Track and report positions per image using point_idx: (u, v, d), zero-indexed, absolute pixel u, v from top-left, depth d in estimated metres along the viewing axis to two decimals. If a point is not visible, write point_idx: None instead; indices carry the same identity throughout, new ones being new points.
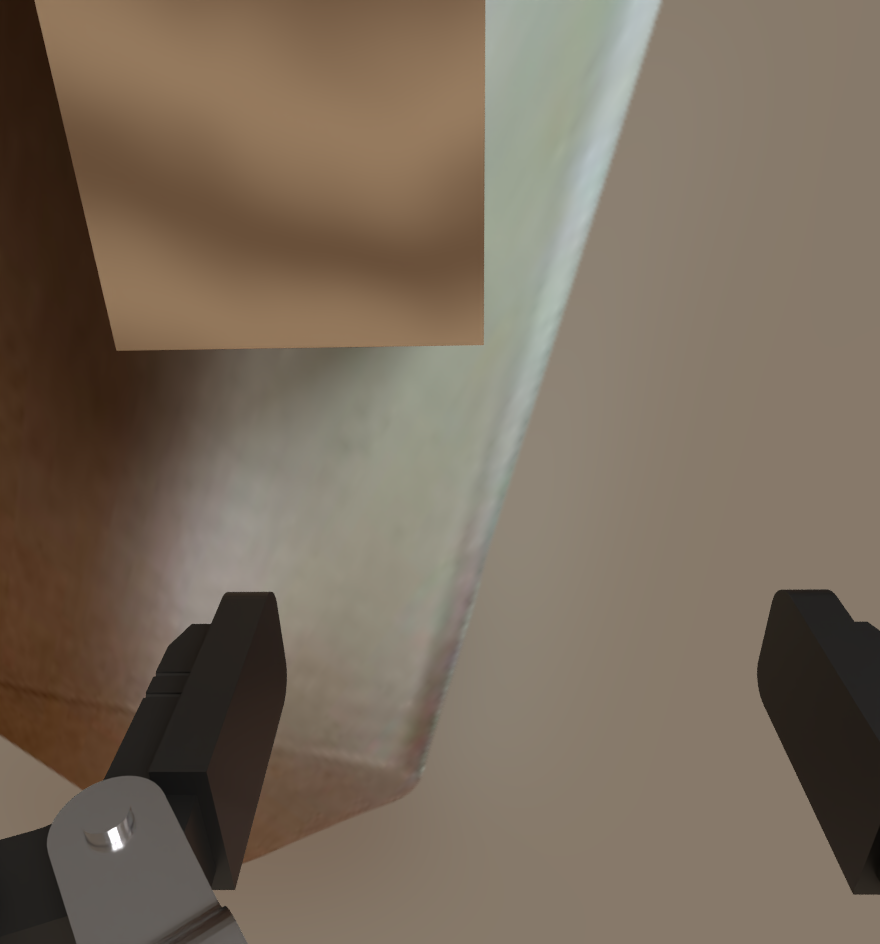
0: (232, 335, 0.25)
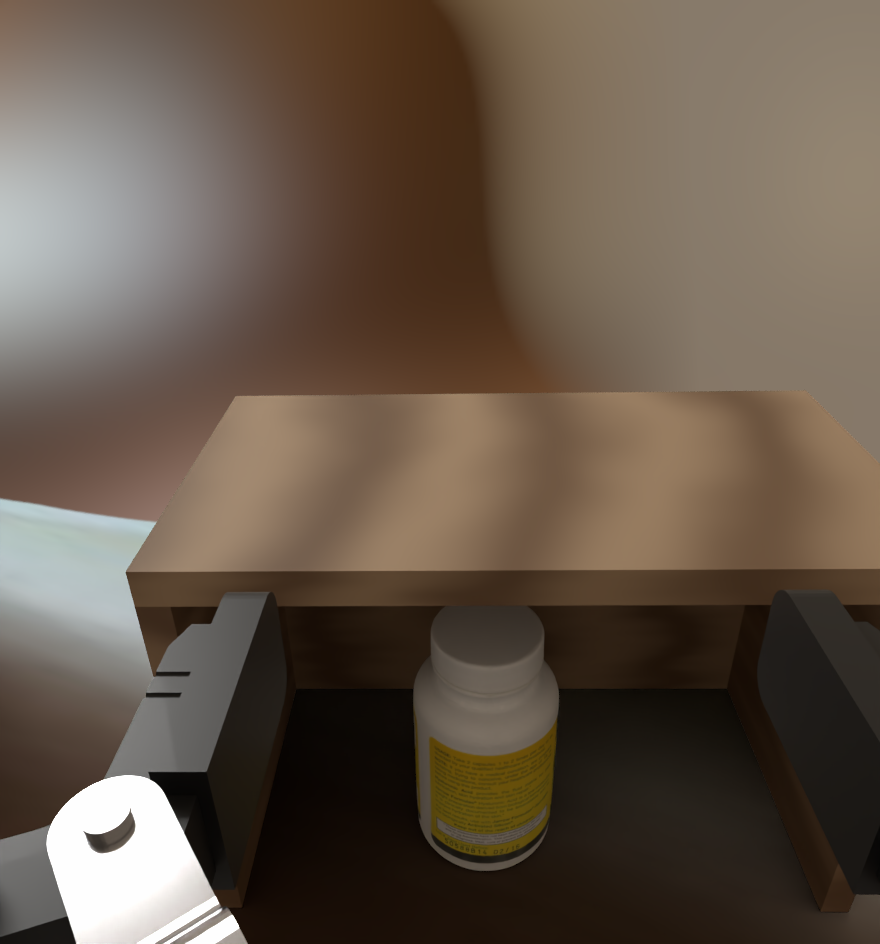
0: None
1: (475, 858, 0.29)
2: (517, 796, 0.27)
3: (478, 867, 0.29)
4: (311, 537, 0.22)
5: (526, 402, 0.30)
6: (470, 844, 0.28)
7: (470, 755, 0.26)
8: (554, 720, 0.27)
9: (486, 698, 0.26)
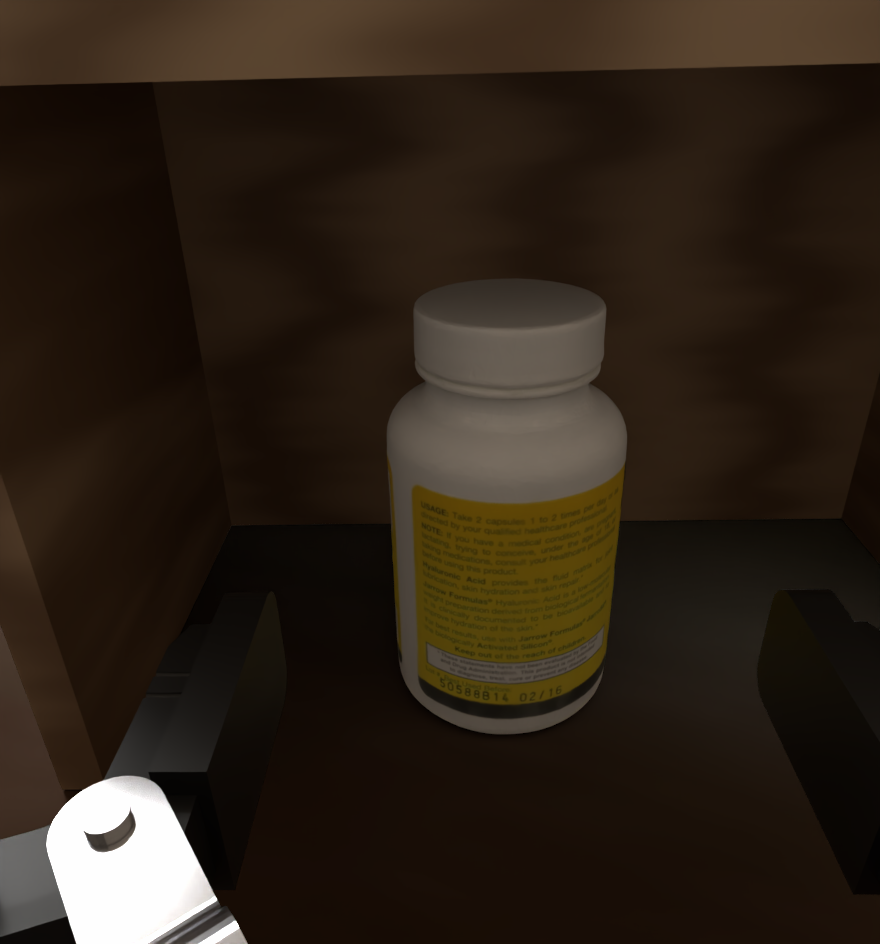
0: None
1: (489, 709, 0.18)
2: (561, 592, 0.16)
3: (494, 727, 0.18)
4: None
5: None
6: (481, 684, 0.17)
7: (481, 504, 0.15)
8: (621, 463, 0.16)
9: (509, 403, 0.15)
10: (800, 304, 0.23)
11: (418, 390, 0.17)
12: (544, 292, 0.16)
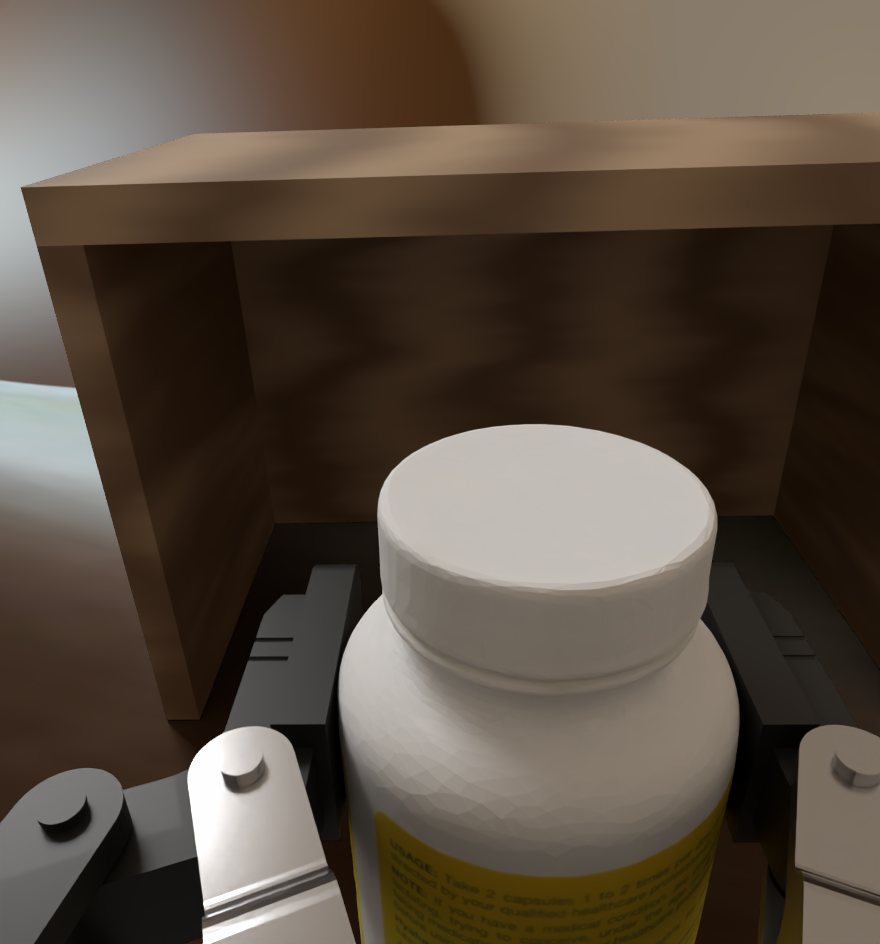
0: None
1: None
2: None
3: None
4: (268, 169, 0.17)
5: (539, 125, 0.25)
6: None
7: (495, 873, 0.08)
8: (734, 760, 0.10)
9: (547, 697, 0.08)
10: (731, 345, 0.29)
11: None
12: (602, 465, 0.10)
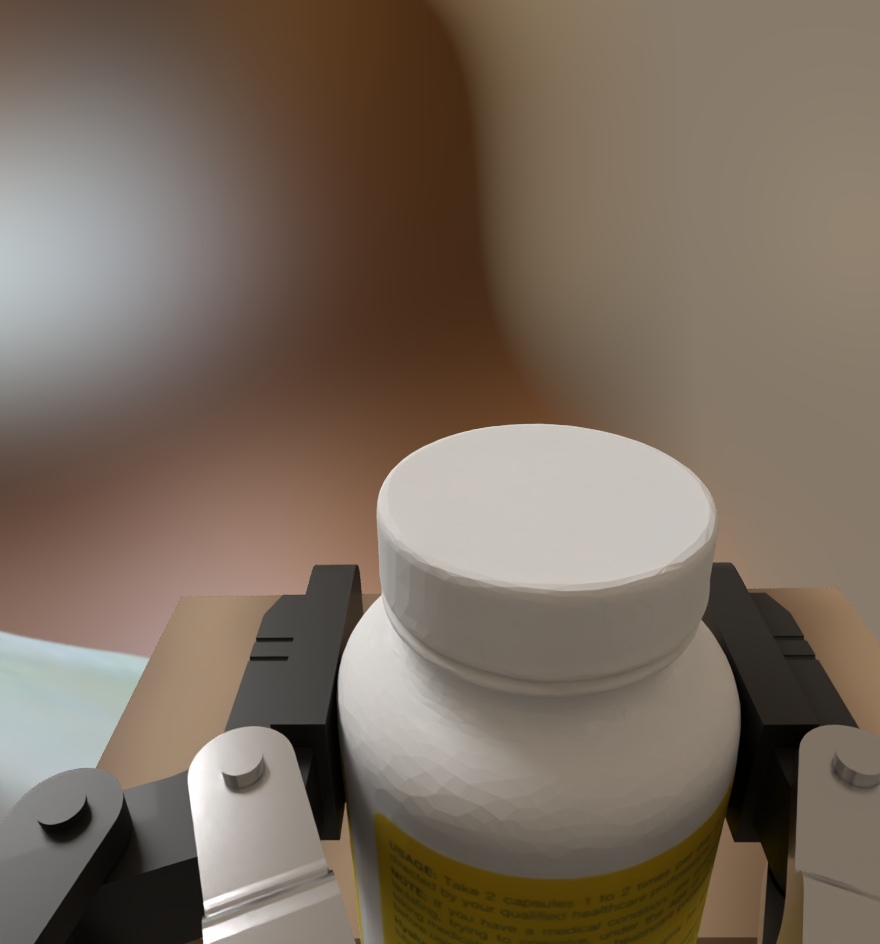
0: None
1: None
2: None
3: None
4: None
5: None
6: None
7: (495, 876, 0.08)
8: (735, 762, 0.09)
9: (547, 698, 0.08)
10: None
11: None
12: (602, 465, 0.10)
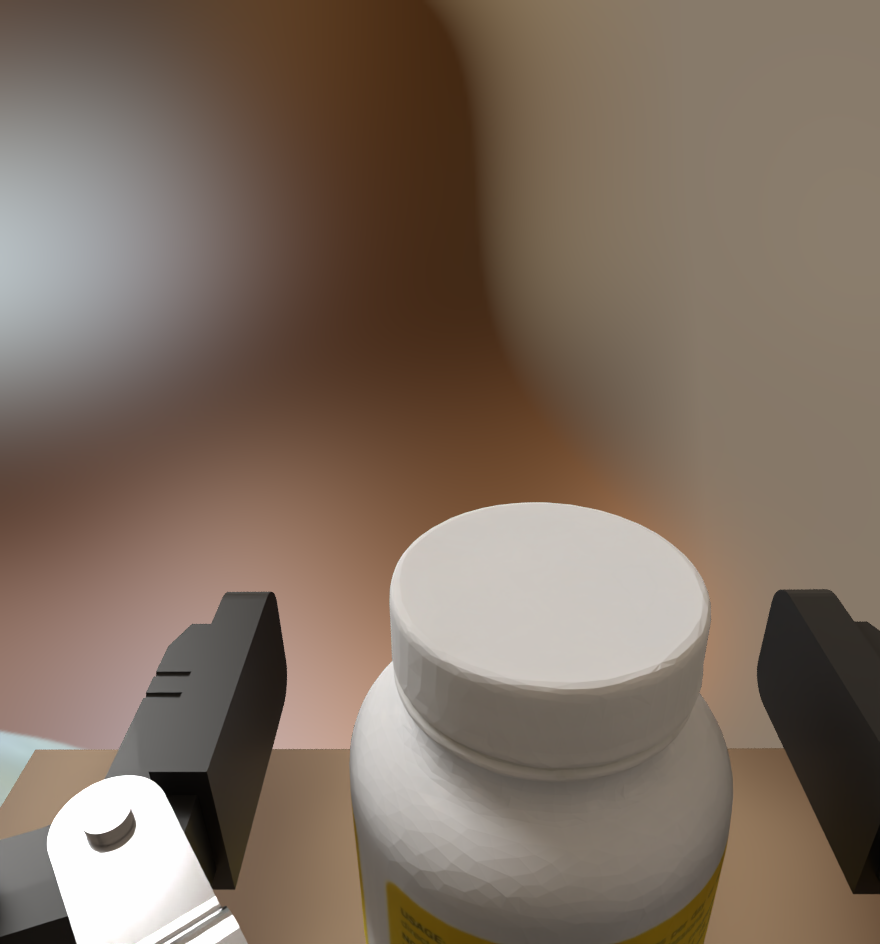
0: None
1: None
2: None
3: None
4: None
5: None
6: None
7: None
8: (728, 832, 0.10)
9: None
10: None
11: None
12: (602, 550, 0.10)
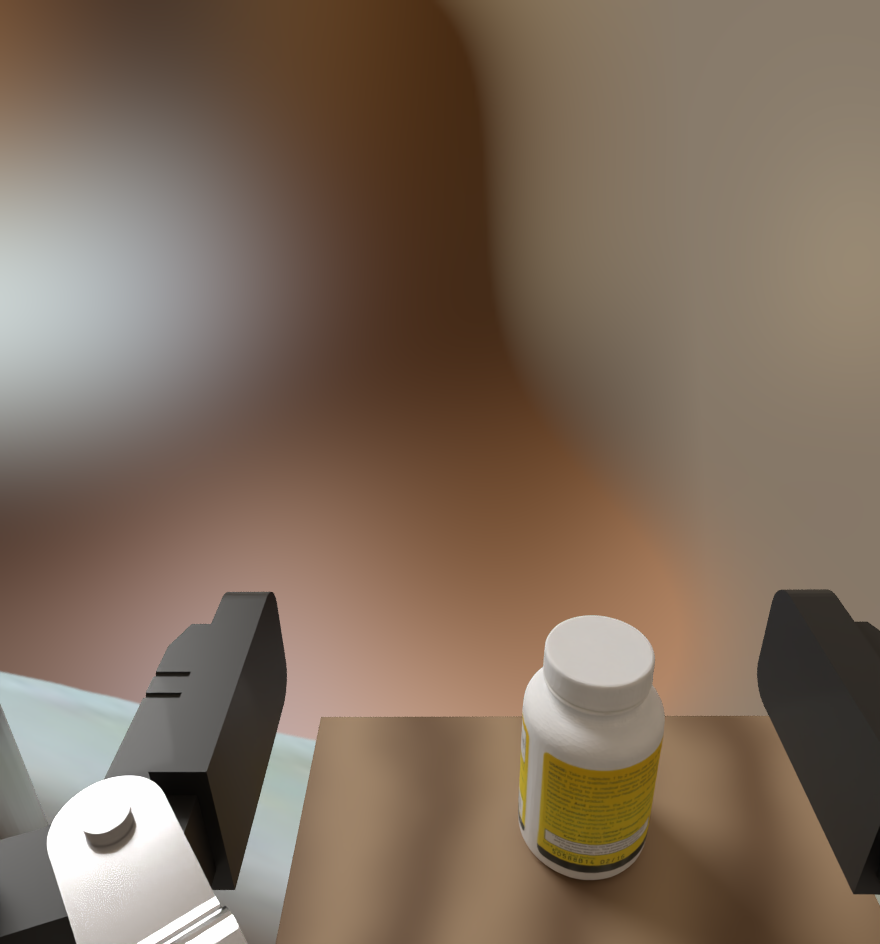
0: None
1: (582, 868, 0.30)
2: (627, 809, 0.29)
3: (584, 876, 0.30)
4: (405, 923, 0.29)
5: None
6: (578, 855, 0.30)
7: (586, 770, 0.28)
8: (662, 736, 0.29)
9: (602, 716, 0.27)
10: None
11: (542, 683, 0.30)
12: (618, 637, 0.29)
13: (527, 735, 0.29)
